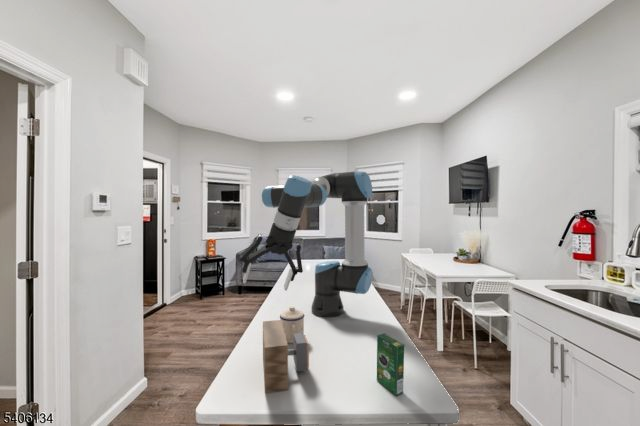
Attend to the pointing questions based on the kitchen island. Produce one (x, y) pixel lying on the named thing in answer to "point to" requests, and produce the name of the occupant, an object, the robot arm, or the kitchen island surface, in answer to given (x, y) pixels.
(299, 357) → the gray housing block
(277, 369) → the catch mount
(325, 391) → the kitchen island surface
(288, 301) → the kitchen island surface
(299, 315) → the teacup with lid
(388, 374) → the coffee box
